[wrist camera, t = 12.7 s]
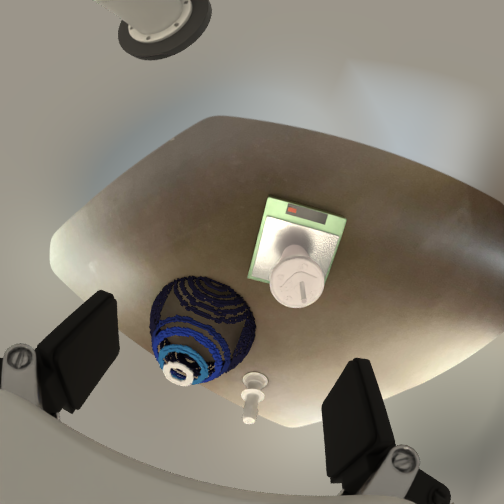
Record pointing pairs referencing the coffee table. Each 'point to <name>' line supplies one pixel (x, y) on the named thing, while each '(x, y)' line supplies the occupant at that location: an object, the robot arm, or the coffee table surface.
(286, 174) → the coffee table surface
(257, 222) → the coffee table surface
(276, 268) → the smoothie
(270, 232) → the scale platform
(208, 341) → the decorative bowl
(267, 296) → the coffee table surface
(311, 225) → the scale
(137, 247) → the coffee table surface
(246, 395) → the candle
